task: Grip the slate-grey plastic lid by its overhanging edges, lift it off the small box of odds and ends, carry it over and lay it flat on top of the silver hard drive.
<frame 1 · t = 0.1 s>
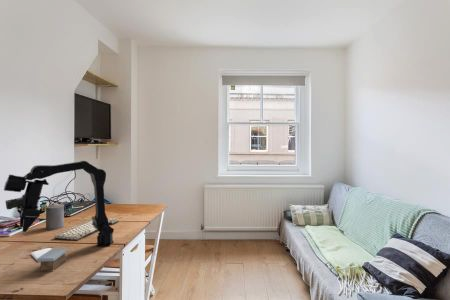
hand: (22, 229, 115), 15 cm above the table, tool pointing down, fingers open, 9 cm apart
lid: (53, 256, 114), point 4 cm above the table, touching box
pillar candle: (55, 227, 167), on the table
box: (53, 266, 114), on the table
external hard drive: (44, 257, 125), on the table
mechanical keyboard: (88, 230, 163), on the table
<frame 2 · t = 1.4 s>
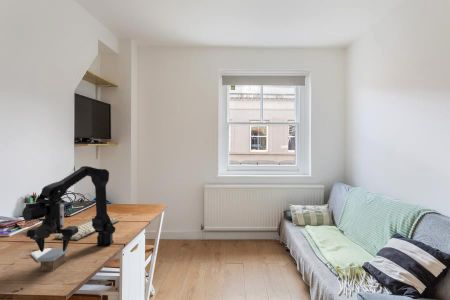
hand: (53, 251, 114), 7 cm above the table, tool pointing down, fingers open, 9 cm apart
nothing on the table moved.
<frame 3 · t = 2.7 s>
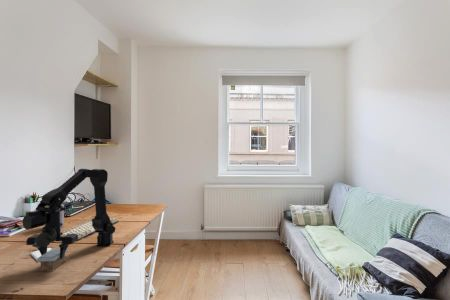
hand: (53, 259, 114), 3 cm above the table, tool pointing down, fingers closed on lid, 7 cm apart
lid: (53, 256, 114), point 5 cm above the table, touching box, gripper
everything else where it was.
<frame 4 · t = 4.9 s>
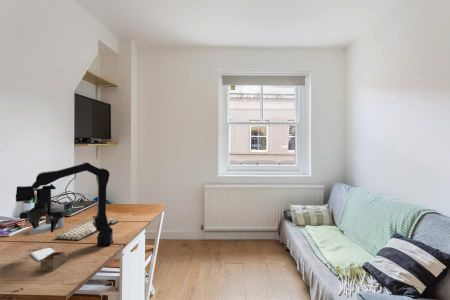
hand: (44, 232, 124), 11 cm above the table, tool pointing down, fingers closed on lid, 7 cm apart
lid: (44, 229, 124), point 12 cm above the table, touching gripper
everything else where it was.
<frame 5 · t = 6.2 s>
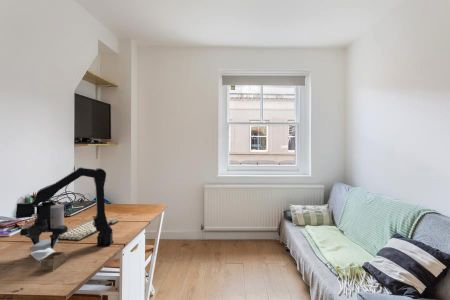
hand: (44, 248, 125), 3 cm above the table, tool pointing down, fingers closed on lid, 7 cm apart
lid: (44, 245, 125), point 5 cm above the table, touching gripper
everything else where it was.
when the fingers open (3 cm above the table, at t = 7.1 s): lid drops 4 cm, resting on external hard drive.
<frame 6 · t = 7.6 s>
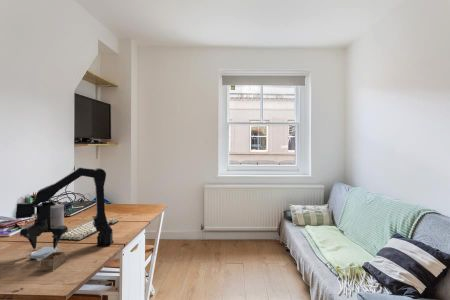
hand: (44, 248, 125), 3 cm above the table, tool pointing down, fingers open, 9 cm apart
lid: (44, 253, 125), point 1 cm above the table, touching external hard drive
external hard drive: (44, 257, 126), on the table, touching lid
everything else where it was.
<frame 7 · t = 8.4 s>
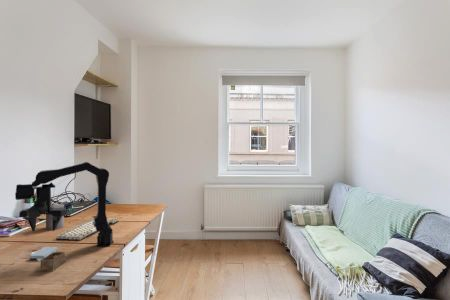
hand: (43, 230, 125), 12 cm above the table, tool pointing down, fingers open, 9 cm apart
lid: (44, 253, 125), point 1 cm above the table
external hard drive: (44, 257, 126), on the table
everything else where it was.
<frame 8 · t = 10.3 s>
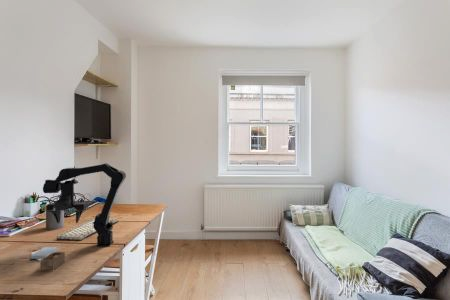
hand: (67, 223, 136), 12 cm above the table, tool pointing down, fingers open, 9 cm apart
lid: (44, 253, 125), point 1 cm above the table, touching external hard drive
external hard drive: (45, 257, 126), on the table, touching lid
at the end: lid inside the target area on the external hard drive (0.6 cm from its centre), point 1.8 cm above the external hard drive's base; lid tilted 0°; lid touching external hard drive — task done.
